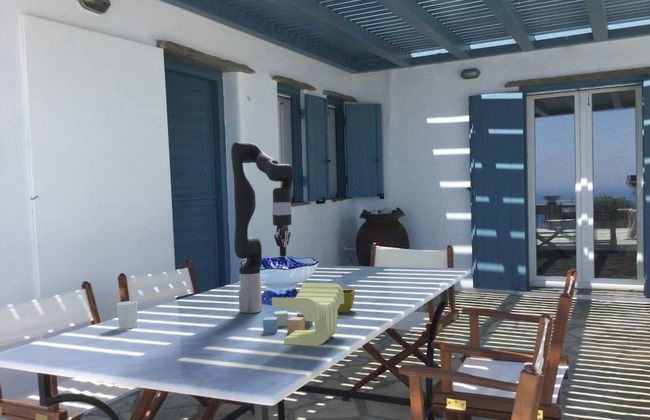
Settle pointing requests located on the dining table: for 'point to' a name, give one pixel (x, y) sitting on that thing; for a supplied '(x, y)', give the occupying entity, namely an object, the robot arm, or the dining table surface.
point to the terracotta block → (295, 324)
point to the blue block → (270, 325)
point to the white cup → (127, 314)
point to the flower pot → (347, 301)
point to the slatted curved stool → (314, 311)
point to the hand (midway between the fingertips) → (283, 256)
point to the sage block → (281, 317)
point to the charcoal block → (307, 323)
